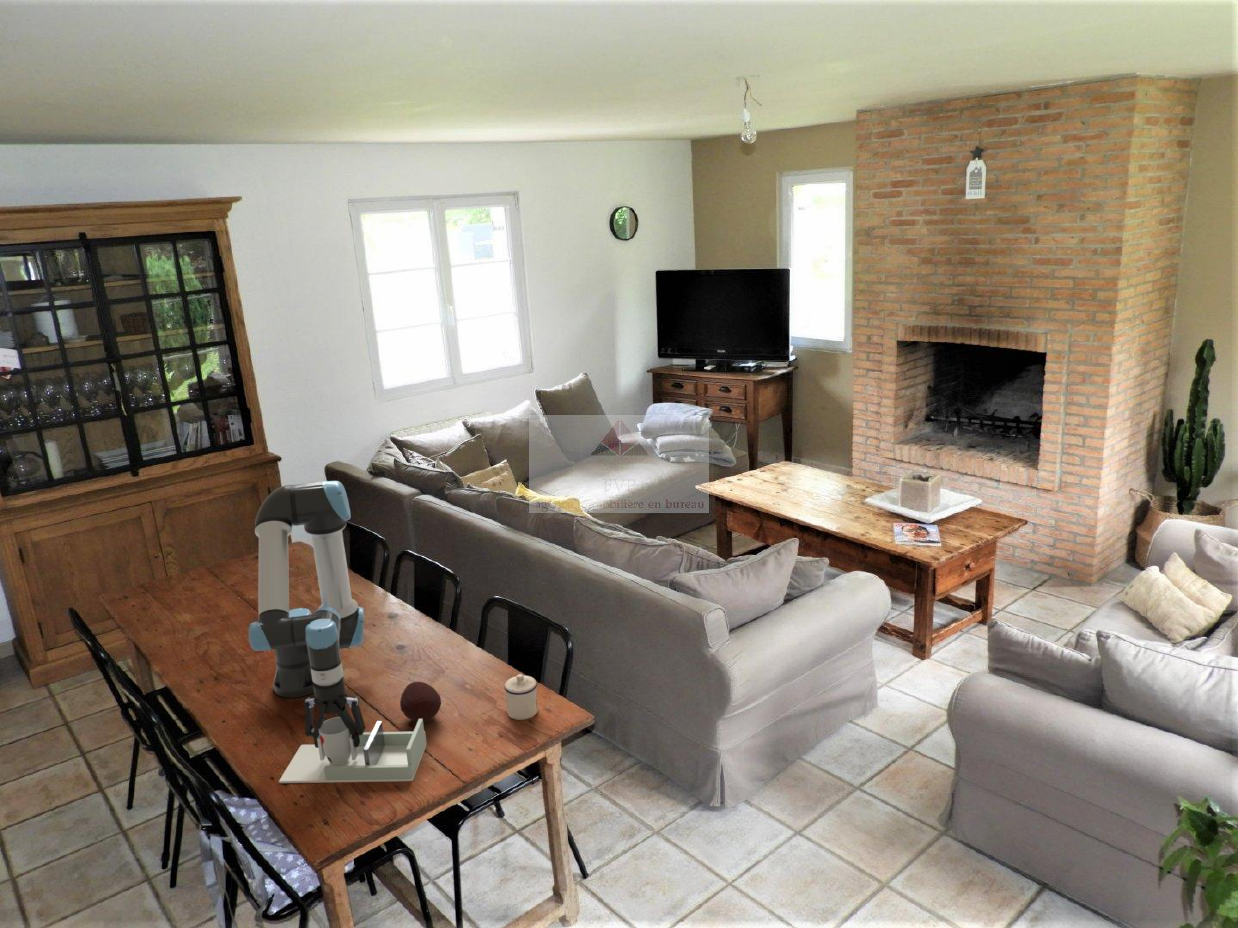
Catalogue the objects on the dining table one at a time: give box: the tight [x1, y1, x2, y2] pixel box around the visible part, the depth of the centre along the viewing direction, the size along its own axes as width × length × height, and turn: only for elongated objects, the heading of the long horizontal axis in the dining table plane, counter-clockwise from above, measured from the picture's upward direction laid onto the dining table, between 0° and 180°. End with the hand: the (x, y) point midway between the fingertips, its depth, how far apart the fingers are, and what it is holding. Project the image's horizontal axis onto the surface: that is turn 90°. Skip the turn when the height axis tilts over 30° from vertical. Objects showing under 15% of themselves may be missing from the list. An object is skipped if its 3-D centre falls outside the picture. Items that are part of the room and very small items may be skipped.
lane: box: [278, 719, 428, 784], centre depth 233 cm, size 34×16×9 cm, turn 89°
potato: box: [399, 681, 442, 724], centre depth 252 cm, size 11×13×10 cm
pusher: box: [363, 720, 385, 765], centre depth 233 cm, size 1×13×8 cm, turn 178°
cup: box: [318, 716, 351, 765], centre depth 233 cm, size 8×8×10 cm
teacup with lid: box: [503, 673, 539, 721], centre depth 254 cm, size 12×9×12 cm
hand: (339, 757), depth 234 cm, fingers closed on cup, 8 cm apart
